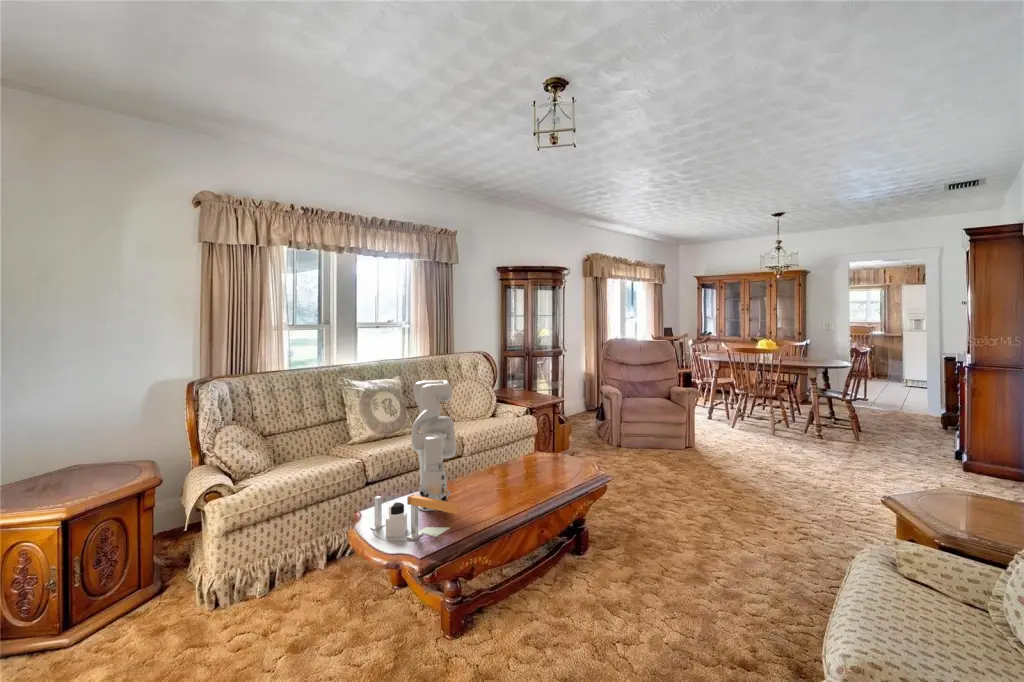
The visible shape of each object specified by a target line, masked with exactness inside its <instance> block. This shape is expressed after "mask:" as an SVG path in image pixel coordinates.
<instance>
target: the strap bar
mask: <svg viewBox="0 0 1024 682" xmlns="http://www.w3.org/2000/svg"><path fill="white" fill-rule="evenodd" d="M406 500H407V505H408V506H409V505H410V506H411V505H415V506H420V507H425V508H429V509H434V511H438V512H439V511H442V512H443V513H448V514H454V515H456V514H458V513H459V512H460V503H456V502H453V501H447V500H446V501H442V500H437V499H432V498H427V497H421V496H420V495H416V494H411V495H409V496H407V499H406Z"/></svg>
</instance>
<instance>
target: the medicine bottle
mask: <svg viewBox="0 0 1024 682" xmlns="http://www.w3.org/2000/svg"><path fill="white" fill-rule="evenodd" d="M385 524H386V525H385V537H386V538H395V537H401V538H402V537H404V536H405V534H406V532H407V530H408V514H407V512H405V505H404V503H402V502H398V501H397V502H393V503H390V504H389V505H388V516H387V517H386V518H385Z"/></svg>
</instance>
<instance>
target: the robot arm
mask: <svg viewBox="0 0 1024 682" xmlns="http://www.w3.org/2000/svg"><path fill="white" fill-rule="evenodd" d="M413 396H414V400H415V402H416V404H417V407H418V411H419V415H418V416H417V417H416V419H414V421H413V423H412V427H411V432H410V433H411V448H412V449H413V451H415V452H417V453H418V460H419V484H420V485H419V486H418V487H417V490H418V493H419V494H420V495H419V496H421V497H427V498H432V499H437V500H442V501H447V499H448V498H449V497H450V495H451V492H450V491H449V489H448V486H447V485H448V484H447V475H446V471H445V465H444V462H443V459H449V458H454V456H455V455H456V453H457V451H456V450H457V447H456V445H457V444H456V435H455V434H456V433H455V424H454V420H453V418H452V417H450V416H447V415H443V416H441V415H440V414H441V408H440V407H441V406H440V402H442V403H443V402H450V401H451V400H452V397H453V390H452V386H451V384H450V382H449V381H448V379H447V380H446V379H440V380H439V379H437V380H436V379H435V380H434V379H433V380H420V381H417V382H415V384H414V385H413ZM419 430H420V432H418V431H419ZM418 511H424V512H432V511H435V510H434V509H429V508H425V507H420V506H418ZM442 512H443V511H439V510H438V513H442Z"/></svg>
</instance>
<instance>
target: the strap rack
mask: <svg viewBox="0 0 1024 682" xmlns="http://www.w3.org/2000/svg"><path fill="white" fill-rule="evenodd" d="M373 500H374V507H373V508H374V525H373V526H371V527H369V529H370V530H373V531H378V530H379V529H381V528H383V527H384V526H386V522H382V518H383V517H382V513H383V512H382V509H383V508H382V507H383V506H382V496H380V495H378V496H374V499H373ZM418 531H419V509H418V506H415V505H410V535H407V536H406V540H407V541H412V542H413V541H415V540H417V539H419V538H420V537H422V536H423V535H424V534H423V533H421V532H418Z"/></svg>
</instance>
